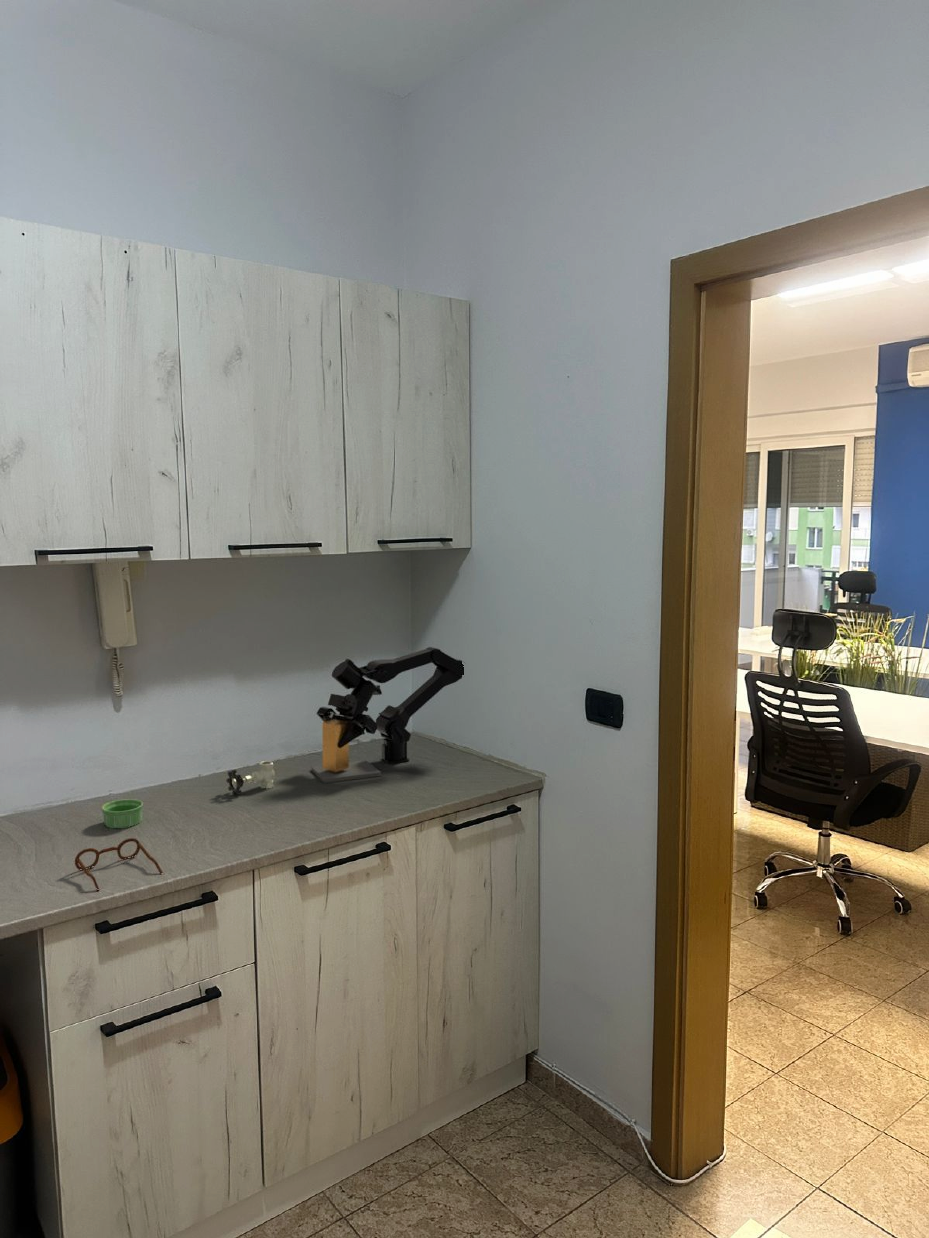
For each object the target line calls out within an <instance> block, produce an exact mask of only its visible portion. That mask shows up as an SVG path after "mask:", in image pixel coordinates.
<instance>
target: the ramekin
mask: <svg viewBox="0 0 929 1238" xmlns="http://www.w3.org/2000/svg"><path fill="white" fill-rule="evenodd" d="M143 807H144V802H143V801H141V800H139V799H135V798H127V799H126V798H125V799H123V798H122V799H117V800H113V801H109V802H107V803H105V804H103V805H102V806H101V810H102V816H103V821H104V822H103V823H104V826H105V825H106V826H107V828H108V827H110V828H109V829H113V828H122V829H126V828H125V827H129V826H132V827H134V826H133V825H135V826H137V825H139V824H140V823H141V822H142V815H143ZM140 821H141V822H140ZM139 822H140V823H139ZM138 823H139V824H138ZM136 824H137V825H136ZM106 826H105V827H106ZM129 828H130V827H129Z"/></svg>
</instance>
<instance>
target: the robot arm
mask: <svg viewBox="0 0 929 1238" xmlns="http://www.w3.org/2000/svg"><path fill="white" fill-rule="evenodd" d="M462 661H463V660H461V659H457V658H453V657H452V656H450V655H448V654H446V653H445V652H443V651H442V650H441V649H440V648H436V647H433V646H428V647H427V648H425V649H421V650H418V651H415V652H412V653H408V654H405V655H402V656H400V657H395V658H389V659H388V658H387V659H383V658H382V659H378V660H377V659H376V660H370V661H369V662H368V663H367V664H366V665H363V666H360V667H358V666H357V665H356V664H355V663H354V661H353V660H351V659H349V658H345V660H344V661H342V662H340V663H339V664H337V665H336V666H335V667H334V669H333V670H332V672H331V677H332V678H333V679H334V680H336V682H338V684H340V685H341V686H342V687H343V688H344V689H346V690H350V689H352V690H351V692H350V694H349V693H347V694H346V695H340V694H335V693H330V697H329V699H328V703H327V706H331V707H334V708H335V711H334V709H333V708H331V707H327V706H321V707H319V708H318V710H317V711H316V713H315V714H316V715H317V716H318V717H319V719H321V721H322V722H326V721H330V720H334V719H338V720H342V721H346V722H347V728H346V730H345V732H344V734H343V736H342V738H341V740H340V742H339V744H338V747H339V748H342V747H343V746H345V745H346V744H348V743H349V744H350V743H351V742H352V741H353V740H355V739H356V738H359V737H360V736H362V735H365V734H366V733H367V734H370V735H371V734H372V735H375V734H376V732H377V731H378V732H379V733H380V736H381V738H382V739H383V740H382V741H383V743H382V744H381V759H383V760H384V761H385V762H386V763H388V764H394V763H395V764H396V763H402V762H409V761H410V758H409V757H408V742H409V741H410V739H411V735H412V734H411V733H410V731H408V730H407V729H406V728H407V726H408V724H409V721H410V719H411V717H413V716H414V715H415V713H417V712H418V711H419V710H420V709H421V708H422V707H423V706H425V705H426V703H428V702H429V701H430V700H431V699H432V698H434V697H435V695H437V694H438V693H439V692H441V690H442V689H443V688H445V687H447V686H450V685H452V684H454V683H456V682H459V681H460V680H461V679H462V675H464V667H463V666H464V665H463V664H462ZM431 663H432V664H433V665H434V666H435V669H434V672H433V675H432V676H431V677H430V678H429V679H427V680H426V681H425V682H424V683H423V684H422V685H421V686H420V687H418V688H417V689H416V690H415V691H414V692H413V693H411V694H410V696H408V697H406V699H405V700H404V701H403V702H401V703H400V704H399V705H397V706H396V707H395V706H392V705H390V704H389V705H387V706H386V707H385V708H384V710H382V711H381V712H378V716H377V717H376V719H375V720H374V719H373V717H372V716H371V715H369V714H365V712H368V711H369V707H368V704H369V703H370V702H371V700H372V698H373V696H380V695H382V694H383V692H382V689H381V685H380V684H385V683H388V682H390V681H391V680H393V679H396V677H397V676H398V675H400V674H401V673H405V672H407V671H410V670H413V669H416V668H419V667H423V666H425V665H429V664H431ZM365 678H366V679H365ZM367 679H368V680H367ZM374 682H376V683H379V684H378V685H377V684H375V683H374ZM336 711H337V712H338V713H336ZM365 732H366V733H365Z"/></svg>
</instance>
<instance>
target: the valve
mask: <svg viewBox="0 0 929 1238" xmlns="http://www.w3.org/2000/svg"><path fill="white" fill-rule="evenodd" d="M273 763H274V762H273V761H270V760H265V761H260V762H259V771H254V772H252V773H251V775H246V776H244V777H242V776H241V774H236V773H238V771H237V769H233V770H231V771H228V772H227V775H228V778H226V781H225V782H226V783H228V784H229V785H228V787H227V789H228V791H232V792H231V793H232V796H237V795H240V794H242V790H241V788H242V787H243V786H244V784H249V783H251V782H252V783H253V784H256V785H257V784H260V785H259V787H261V788H260V789H262V788H266V789H265V790H268V788H269V789H272V787H273V788H274V779H275V777H276V776H275V775H276V774H275V773H276V772H275V770H274V764H273Z"/></svg>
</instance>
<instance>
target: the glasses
mask: <svg viewBox="0 0 929 1238" xmlns="http://www.w3.org/2000/svg"><path fill="white" fill-rule="evenodd" d="M129 842H134V843H135V844H136V849H135V851H134V852H133V853H132V854H131V855H129V856H123V855H122V854H121V849H122V847H123V846H124V845H125V844H127V843H129ZM140 850H141V852H142V853H143V854H144V855H145V856H146V858H147V859H148V860H149V861H151V862H152V863H153V864H154V865H155V867H156V869H157V871H158V872H160V873H163V874H164V872H163V871H162V869H161V866H160V864H159V863H158V861H157V860H156V859H155V858H154V857H152V856H151V855H150V854H149V852H148V851H147V850H146V849H145V848H144V846H143V845H142V844H141V843H140V841H139V840H138V839H137V838H136V837H135V838H133V837H131V838H127V839H124V840H123V841H121V842H120V843H119V844H118V845H117V847H116V846H112V847H108V848H107V847H106V848H103V849H101V850H97V849H96V848H93V847H92V848H91V847H89V848H84V849H82V850H81V851H79V852H78V854H76V855H75V859H74V865H75V867H76V869H78V870H79V871H81V870H80V869H83V870H82V871H83V872H84V873H85V875H87V877H89V878H90V879H91V880H92V881H93V885H94V886H95V889H96V888H97V889H99V890H100V887H99V885H98V882H97V880H96V878H95V875H93V873H91V872H90V871H89V869H86V868H89V867H92V866H94V867H95V866H97V864H98V863H99V860H100V855H102V854H104V853H107V852H112V851H116V853H117V857H118V858H119V859H120V860H122V859H125V858H128V857H132V856H135V855H136V856H137V855H138V854H139V852H140ZM88 852H92V853H94V854H95V859H94V862H92V864H90V865H88V866H86V865H85V864H84V862H82V860H81V858H80V857H81V856H82V855H84V854H85V853H88ZM136 856H135V857H136ZM125 860H126V859H125ZM160 873H159V874H160ZM97 889H96V890H97Z"/></svg>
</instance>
